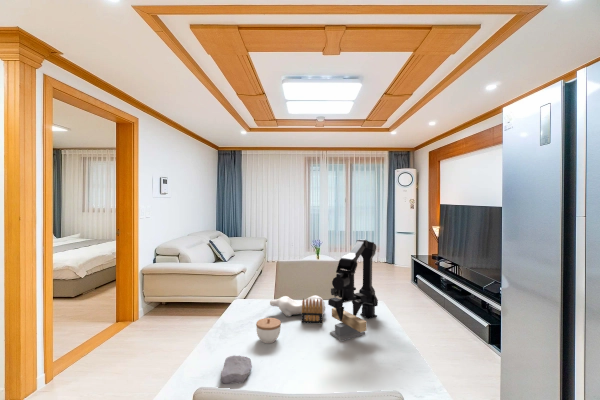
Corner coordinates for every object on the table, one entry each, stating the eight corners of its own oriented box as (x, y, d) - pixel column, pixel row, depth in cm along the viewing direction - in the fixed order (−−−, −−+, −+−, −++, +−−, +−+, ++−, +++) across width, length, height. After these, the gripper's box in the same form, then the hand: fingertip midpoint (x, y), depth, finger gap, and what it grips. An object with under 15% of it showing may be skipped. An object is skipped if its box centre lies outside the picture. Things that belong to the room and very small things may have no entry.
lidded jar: (284, 337, 131) (285, 316, 132) (272, 348, 122) (273, 325, 122) (264, 332, 136) (264, 312, 136) (251, 342, 126) (251, 321, 126)
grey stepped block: (353, 327, 142) (353, 317, 143) (364, 333, 136) (364, 322, 136) (330, 334, 135) (330, 323, 135) (341, 341, 128) (341, 329, 128)
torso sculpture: (322, 312, 167) (270, 306, 168) (324, 294, 167) (272, 287, 168) (324, 324, 151) (266, 317, 152) (326, 303, 151) (269, 296, 152)
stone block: (250, 369, 110) (224, 364, 109) (253, 356, 110) (226, 352, 109) (248, 390, 98) (218, 386, 97) (251, 376, 98) (221, 371, 97)
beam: (331, 316, 143) (331, 308, 143) (337, 315, 145) (337, 307, 145) (360, 332, 126) (360, 322, 126) (366, 330, 128) (366, 321, 128)
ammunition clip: (322, 322, 149) (322, 298, 149) (322, 323, 147) (322, 299, 147) (301, 321, 149) (301, 297, 149) (301, 323, 147) (301, 299, 147)
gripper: (351, 278, 147) (351, 309, 147) (321, 283, 138) (321, 316, 138) (367, 283, 138) (367, 316, 138) (336, 289, 128) (335, 325, 128)
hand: (347, 318), depth 135 cm, fingers open, 8 cm apart
